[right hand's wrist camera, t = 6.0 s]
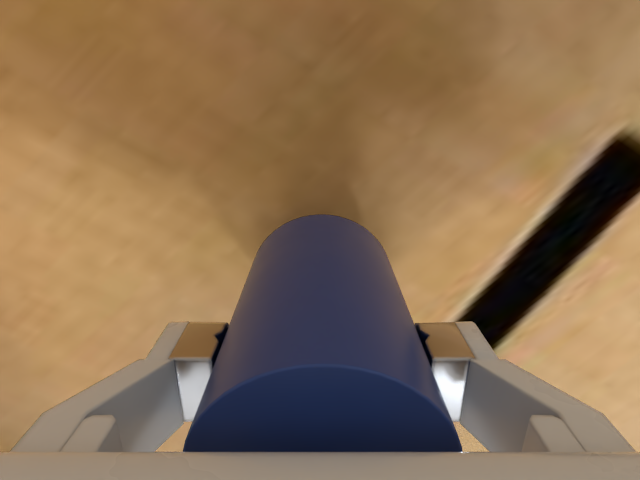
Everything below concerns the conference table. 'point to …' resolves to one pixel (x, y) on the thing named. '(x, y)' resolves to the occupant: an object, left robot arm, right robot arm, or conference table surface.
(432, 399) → the can
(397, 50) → the conference table surface
